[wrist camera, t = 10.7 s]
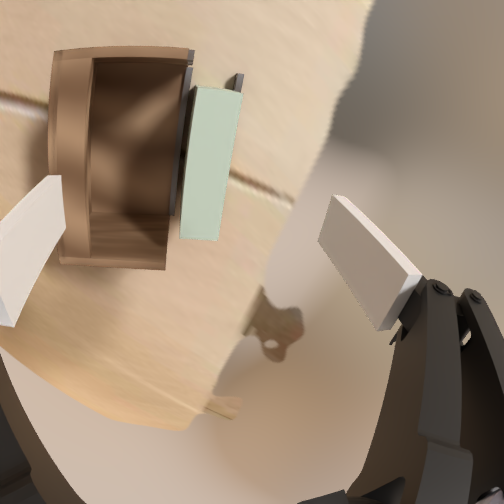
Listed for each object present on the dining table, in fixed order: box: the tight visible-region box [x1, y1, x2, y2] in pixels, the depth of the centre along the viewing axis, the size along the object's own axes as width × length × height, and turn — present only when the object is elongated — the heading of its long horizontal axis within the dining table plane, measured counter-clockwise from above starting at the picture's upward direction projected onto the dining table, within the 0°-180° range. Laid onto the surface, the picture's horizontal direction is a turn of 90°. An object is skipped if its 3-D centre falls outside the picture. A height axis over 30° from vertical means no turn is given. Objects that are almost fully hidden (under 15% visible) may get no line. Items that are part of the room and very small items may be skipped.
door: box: [179, 85, 243, 241], centre depth 25 cm, size 12×3×10 cm, turn 169°
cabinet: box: [48, 46, 244, 270], centre depth 24 cm, size 18×16×10 cm
